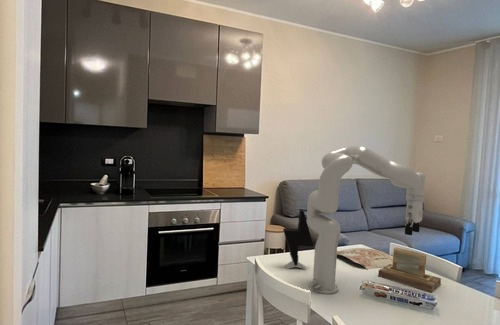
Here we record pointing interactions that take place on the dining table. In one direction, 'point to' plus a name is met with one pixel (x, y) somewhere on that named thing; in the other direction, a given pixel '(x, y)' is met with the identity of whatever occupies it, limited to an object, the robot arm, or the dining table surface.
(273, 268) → the dining table surface
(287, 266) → the award
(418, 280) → the display stand
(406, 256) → the wooden plaque
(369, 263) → the poster
